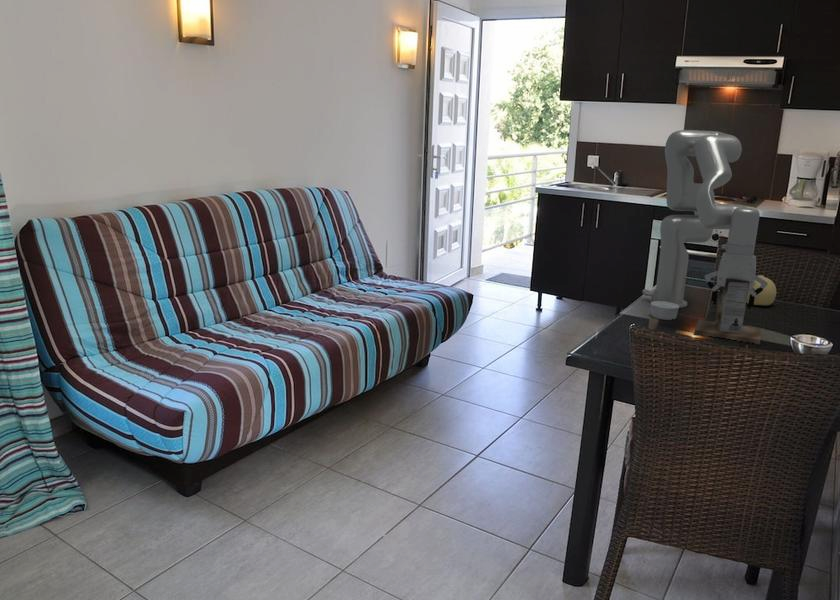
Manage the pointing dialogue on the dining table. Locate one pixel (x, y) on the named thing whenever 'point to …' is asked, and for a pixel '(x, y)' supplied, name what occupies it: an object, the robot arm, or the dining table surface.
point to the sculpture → (764, 292)
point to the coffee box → (732, 306)
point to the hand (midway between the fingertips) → (731, 305)
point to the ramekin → (664, 310)
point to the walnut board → (711, 330)
